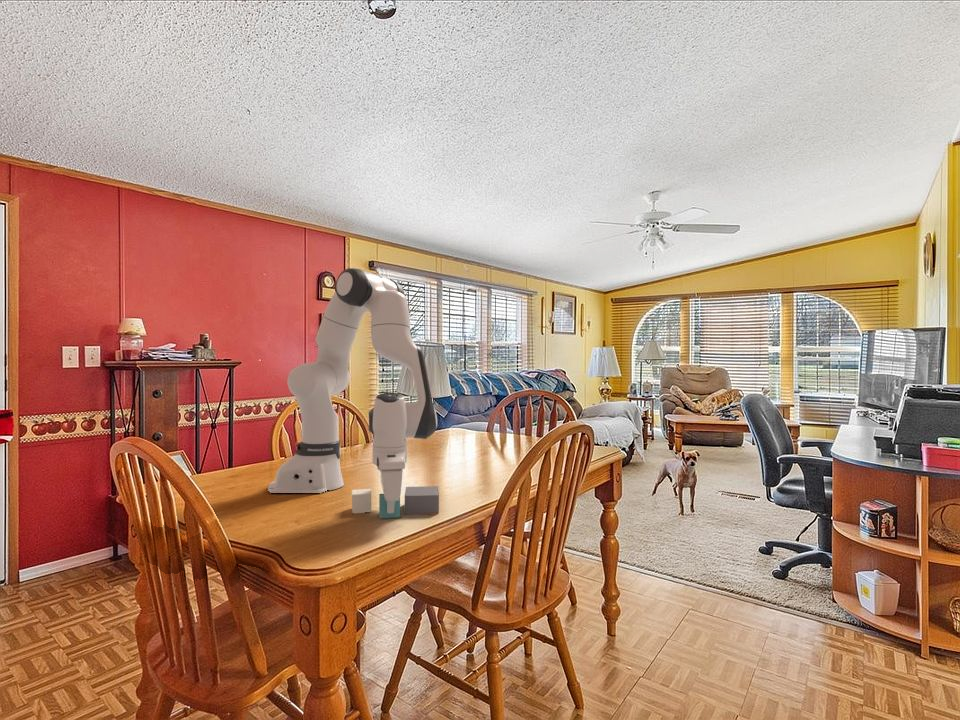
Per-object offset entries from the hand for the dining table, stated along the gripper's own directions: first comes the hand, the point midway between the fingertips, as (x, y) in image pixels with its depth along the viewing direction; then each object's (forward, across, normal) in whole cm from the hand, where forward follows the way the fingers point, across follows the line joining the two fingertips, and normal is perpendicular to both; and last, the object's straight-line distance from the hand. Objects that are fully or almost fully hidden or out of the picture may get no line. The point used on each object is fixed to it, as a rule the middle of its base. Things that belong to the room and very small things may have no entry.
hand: (389, 508), depth 139 cm
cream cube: (+2, -6, -7) cm, 9 cm away
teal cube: (+2, 0, 0) cm, 2 cm away
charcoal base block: (+2, -4, +9) cm, 10 cm away
